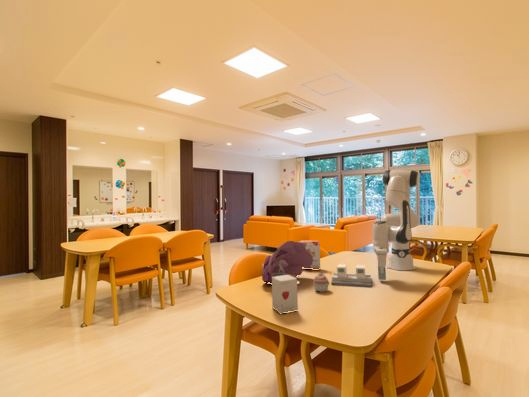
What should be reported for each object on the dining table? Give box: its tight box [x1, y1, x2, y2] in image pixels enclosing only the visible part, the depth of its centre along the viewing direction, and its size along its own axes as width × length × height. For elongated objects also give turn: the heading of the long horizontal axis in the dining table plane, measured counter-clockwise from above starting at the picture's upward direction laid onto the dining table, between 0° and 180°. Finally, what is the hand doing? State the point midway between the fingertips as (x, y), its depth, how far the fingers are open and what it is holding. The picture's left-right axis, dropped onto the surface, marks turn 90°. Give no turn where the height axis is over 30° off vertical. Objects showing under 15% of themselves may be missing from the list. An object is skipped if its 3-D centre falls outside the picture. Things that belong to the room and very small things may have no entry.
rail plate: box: [330, 263, 372, 288], centre depth 173 cm, size 19×22×9 cm
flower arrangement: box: [261, 240, 313, 283], centre depth 176 cm, size 35×24×28 cm
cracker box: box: [298, 239, 321, 269], centre depth 208 cm, size 14×6×21 cm, turn 68°
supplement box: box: [271, 275, 299, 313], centre depth 132 cm, size 9×9×15 cm
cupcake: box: [312, 272, 331, 293], centre depth 158 cm, size 9×9×10 cm
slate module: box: [377, 264, 387, 281], centre depth 171 cm, size 6×4×9 cm, turn 160°
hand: (381, 271), depth 171 cm, fingers closed on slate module, 6 cm apart
